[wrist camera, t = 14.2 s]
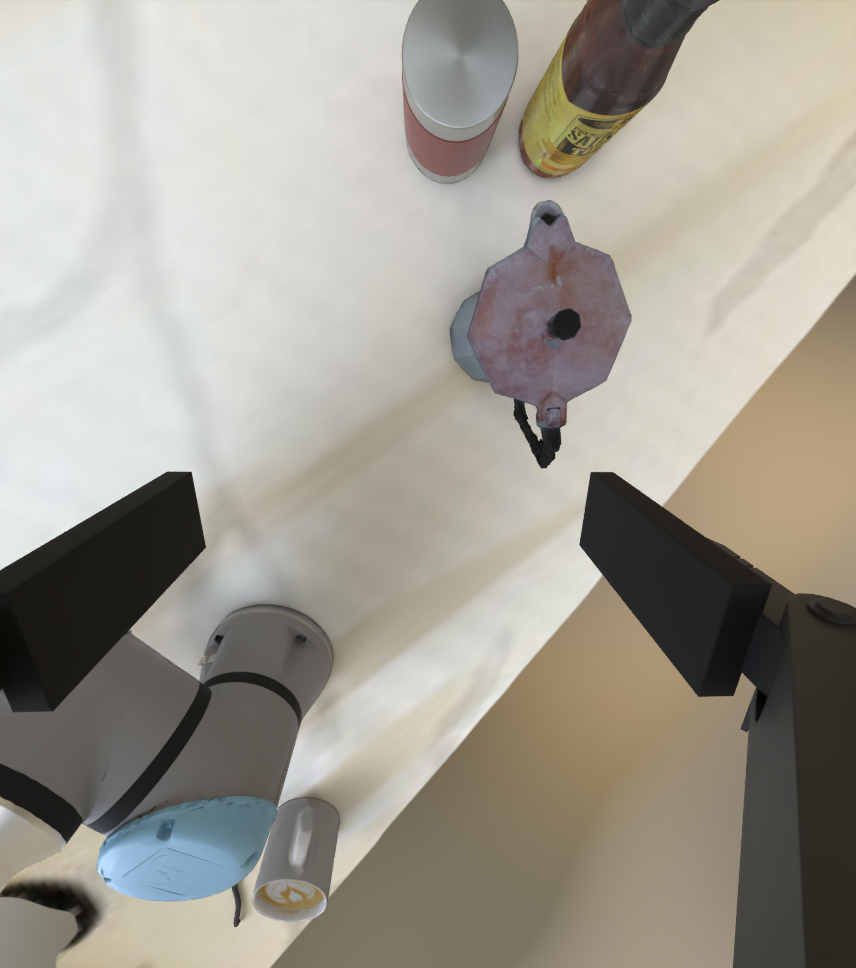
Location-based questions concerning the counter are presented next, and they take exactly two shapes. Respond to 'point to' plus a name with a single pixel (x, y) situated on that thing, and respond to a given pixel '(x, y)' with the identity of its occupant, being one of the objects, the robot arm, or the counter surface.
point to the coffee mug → (298, 861)
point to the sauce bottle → (602, 78)
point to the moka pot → (543, 326)
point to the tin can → (455, 82)
